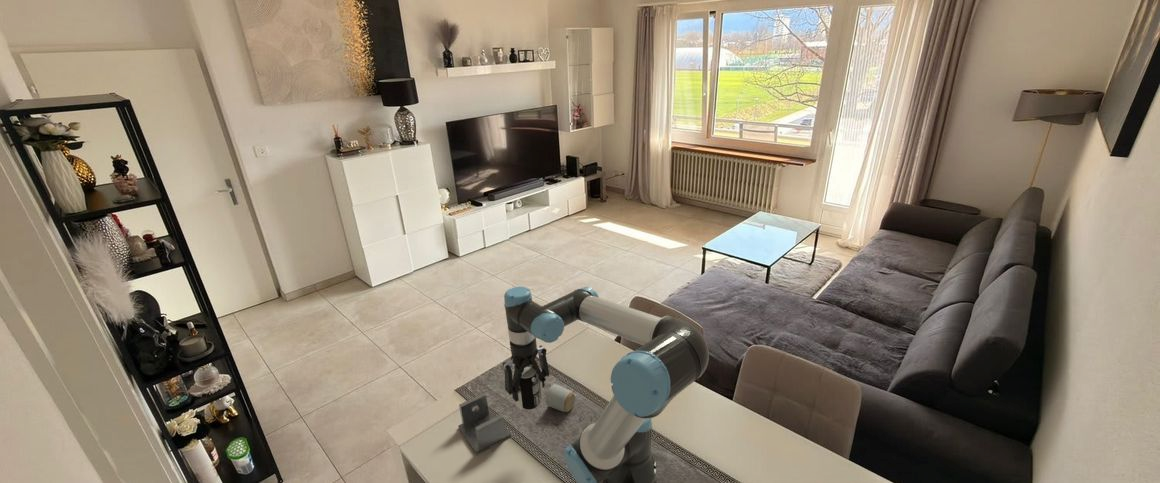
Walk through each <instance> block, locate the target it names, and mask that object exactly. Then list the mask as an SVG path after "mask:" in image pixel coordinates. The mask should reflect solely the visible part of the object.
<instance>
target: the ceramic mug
mask: <svg viewBox="0 0 1160 483" xmlns="http://www.w3.org/2000/svg"><path fill="white" fill-rule="evenodd" d="M576 396H577V395H576V393H575V392H573V391H572V390H570V389H568V388H565V387H563V386H561V385H559V384H557V383H553V384H551V386H550V387H549V388H548V390H547V391H546V394H545V405H546V406H547V407H549V408H553V409H555V410H558V411H561V412H563V413H568V412H570V411H571V410H572V408H573V407H574V404H575V401H576Z"/></svg>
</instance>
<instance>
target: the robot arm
mask: <svg viewBox="0 0 1160 483" xmlns="http://www.w3.org/2000/svg"><path fill="white" fill-rule="evenodd" d="M503 298H504V300H503V301H504V305H503V306H504V312H505V316H506V317H505V318H506V323H507V333H508V339H509V347H510V353H511V357H510V360H509V361H507V362H506V361H504V362H502V367H503V369H504V370H503V371H504V389H505V391H506V393H508V395H511V396H512V399H513V401H515V404H516V407H517V408H518V409H519V410H520V411H522V410H524V408H523V405H522V397H521V392H520V391H519V386H520V381H521V376H522V373H523V372H524V368H526V367H527V366H532V367H533V368H534V369H535V370H536V372H537V373H538V379H539V388H540V397H541V400H544V398H545V397H544V390H543V389H544V388H545V386H546V385H545V382H546V380H547V378H546V377H549V375H550V370H549V363H548V360H547V352H548V350H547V349H546V348H545V347H544V346H543V345H539V347H538V345H537V339H539V340H540V341H543V342H544V343H548V344H550V343H554V342H556V341H558V340H559V337H561V336H562V335H563V333H564V330H565V327H566V326H568V325H570V324H572V323H575V322H576V321H580V322H583V323H586V324H588V325H591V326H594V327H596V328H598V329H601V330H603V331H605V332H608V333H611V334H613V335H616V336H618V337H621V338H624V339H625V340H628V341H631V342H633V343H637V344H638V345H641V346H640V347H638V348H636V349H634V351H631V352H628V353H627V354H626V355H623V356H622V357H621V358H620V360H619V361H617V362H616V363H615V365H614V366H613V367H612V371H611V373H610V383H611V384H612V385H611V392H612V394H613V395H612V397H611V398H610V400H609V401H608V403H607V405H606V406H605V408H604V409H603V411H602V412H601V414H600V416H599V417H598V419H597V421H596V422H593V423H591V424H589V425H588V426H587V427H585V429H583V431H582V432H581V434H580V436H579V437H578V439H576V440H575V441H574V442H573V443H571V444H569V445H568V446H567V447H566V448H565V449H564V451H563V459H564V460H563V461H564V464H565V465H566V467H567V469H568V471H569V473H570V474H571V475H572V478H573V479H574V480H575V481H576V483H602V482H604V481H605V480H606V482H607V483H655V482H656V480H657V476H658V475H657V474H658V473H657V472H658V468H657V462H656V460H655V458H654V455H653V452H652V434H653V433H652V431H653V430H652V429H653V421H652V419H654V418H656V417H658V416H659V415H660V414H662V412H663V411H664V410H665V409H666V408H667V406H668V405H669V404H670V402H671V401H672V400H673V399H674V398H675V397H677V395H679V394H680V393H681V392H682V391H684V390H685V389H686V388H688V387H689V386H690V385H692V384H693V383H694V382H695V381H697V380H698V379H700V377H701V376H702V375H703V374H704V373H705V372H706V369H707V367H708V365H709V360H710V359H709V358H710V353H709V352H710V351H709V347H708V343H707V342H706V339H705V337H704V335H703V334H702V333H701V332H700V331H699V329H697V328H696V327H695V326H694V325H693V324H691V323H689V322H688V321H686V320H684V319H680V318H677V317H674V316H671V315H665V316H663V317H660V316H657V315H654V314H651V313H648V312H645V311H641V310H638V309H636V308H632V307H630V306H629V307H628V306H627V305H623V304H620V303H617V302H613V301H611V300H608V299H605V298H602V297H599V294H598V293H597V291H596V290H593V288H592V287H591V286H584V287H581V288H577V289H575V290H573V291H572V292H569V293H567V294H565V295H564V296H561V297H559V298H557V299H555V300H553V301H550V302H549V303H546V304H544V305H540V304H539V303H537V302H535V301H533V294H532V291H531V290H530V289H529V288H528V287H526V286H513V287H512V288H508V289H507V290H506V291H505V293H504V295H503ZM537 356H538V358H539V359H538V360H539V364H540V367H539V365H538V362H537V361H536V358H537ZM513 365H514V371H513Z"/></svg>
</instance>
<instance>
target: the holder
mask: <svg viewBox="0 0 1160 483" xmlns="http://www.w3.org/2000/svg"><path fill="white" fill-rule="evenodd" d="M458 407H459V413H460V418H461V424H459V425H458V426H457V428H458V430H459V431H460V432H461V434H462V435H463V437H464V438H465V440H466V442H467V443H468V444H469V446H470V447H471V448H472V450H473V452H474V453H475V455H476V456H477V455H479V454H481V453H483V452H485V451H486V450H489V449H490V448H491V447H493V446H495V445H497V444H499V443H501V442H503V441H505V440H507V439H508V438H510V437H512V433H511V432H510V431H509V430H508V429H507V427H506V425H505V424H506V423H505V417H504V415H503V414H502V413H500V414H498V415H497V414H496V413H494V411H493V410H492V409H489V405H488V398H487V394H486V393H485V392H483V393H480V394H478V395H476V396H475V397H472V398H470V399H468V400H466V401H464V402H461V403H460V404H458Z"/></svg>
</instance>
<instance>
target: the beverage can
mask: <svg viewBox="0 0 1160 483" xmlns="http://www.w3.org/2000/svg"><path fill="white" fill-rule="evenodd" d="M519 391H520V392H521V397H522V405H523V410H528V411H529V410H530V411H531V410H534V409H536V408H537V407H539V405H540V404H541V397H540V388H539V379H538V373H537V372H536V370H535V369H534V368H533V367H532V366H531V365H530V366H527V367H526V368H524V372H523V373H522V376H521V381H520V386H519Z"/></svg>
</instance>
